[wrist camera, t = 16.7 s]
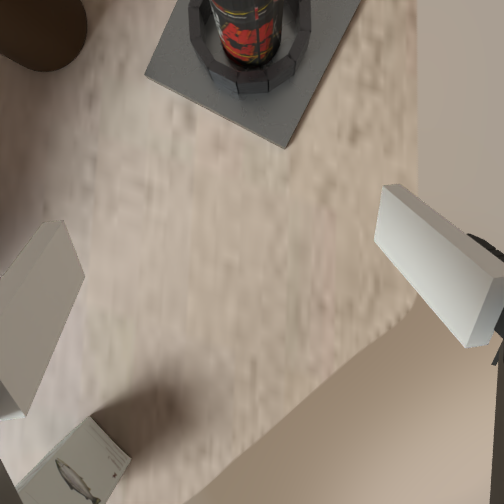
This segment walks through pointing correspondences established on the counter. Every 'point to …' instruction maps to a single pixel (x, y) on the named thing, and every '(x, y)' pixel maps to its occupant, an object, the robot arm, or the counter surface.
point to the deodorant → (249, 29)
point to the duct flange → (251, 79)
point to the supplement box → (76, 469)
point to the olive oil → (42, 32)
